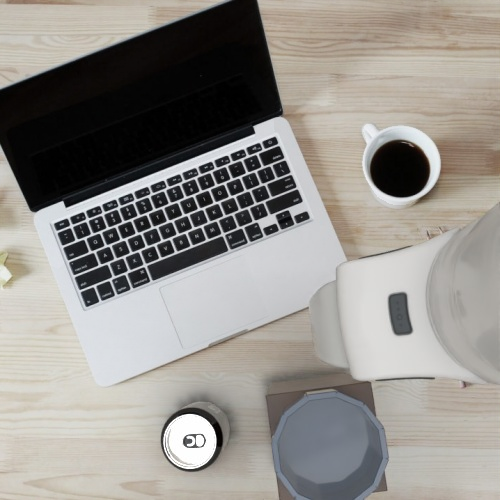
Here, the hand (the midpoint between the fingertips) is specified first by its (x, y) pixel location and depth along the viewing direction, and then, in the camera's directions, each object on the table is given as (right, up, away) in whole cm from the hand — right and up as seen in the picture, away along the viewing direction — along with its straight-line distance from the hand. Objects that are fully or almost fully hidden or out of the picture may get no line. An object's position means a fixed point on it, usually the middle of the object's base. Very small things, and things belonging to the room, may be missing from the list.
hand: (448, 314), depth 51 cm
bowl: (-8, -12, +9) cm, 17 cm away
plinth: (-7, -15, +36) cm, 39 cm away
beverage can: (-20, -17, +36) cm, 45 cm away
